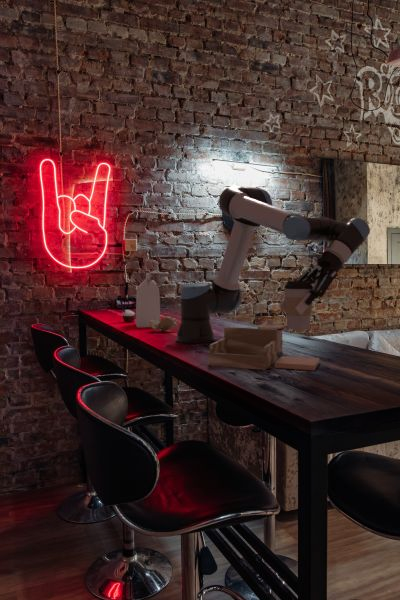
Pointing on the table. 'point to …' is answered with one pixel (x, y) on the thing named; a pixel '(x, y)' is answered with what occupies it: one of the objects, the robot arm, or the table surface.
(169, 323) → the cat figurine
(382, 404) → the table surface
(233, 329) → the frame
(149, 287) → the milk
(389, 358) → the table surface
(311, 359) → the terracotta tile
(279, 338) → the teacup with lid
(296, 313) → the coffee cup
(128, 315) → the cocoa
